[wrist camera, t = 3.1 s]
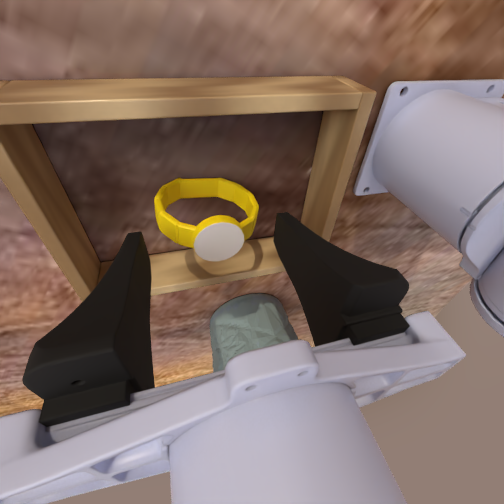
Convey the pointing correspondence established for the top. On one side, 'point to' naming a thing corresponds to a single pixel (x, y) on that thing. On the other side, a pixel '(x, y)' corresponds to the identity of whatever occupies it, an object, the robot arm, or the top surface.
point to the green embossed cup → (247, 327)
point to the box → (168, 106)
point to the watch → (213, 228)
